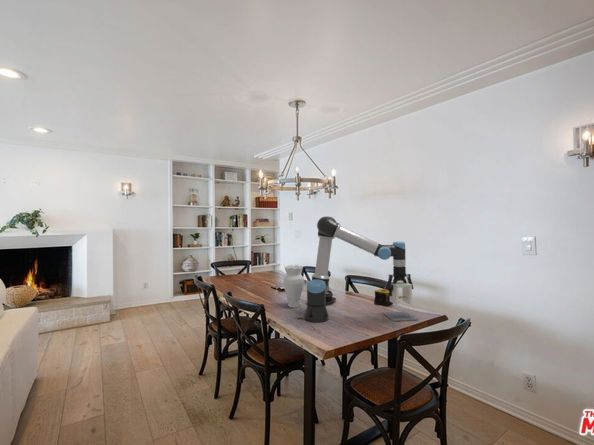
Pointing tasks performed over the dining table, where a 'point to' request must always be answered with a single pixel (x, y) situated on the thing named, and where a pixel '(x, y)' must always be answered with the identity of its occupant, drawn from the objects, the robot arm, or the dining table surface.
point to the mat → (399, 316)
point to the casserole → (329, 297)
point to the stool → (405, 290)
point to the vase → (293, 284)
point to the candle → (382, 298)
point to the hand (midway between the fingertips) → (400, 300)
